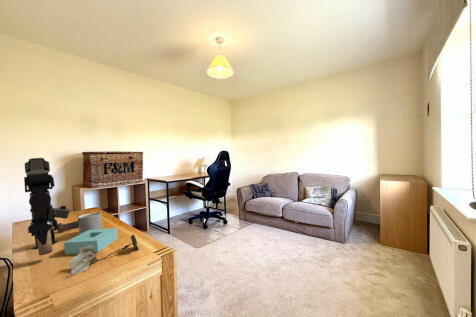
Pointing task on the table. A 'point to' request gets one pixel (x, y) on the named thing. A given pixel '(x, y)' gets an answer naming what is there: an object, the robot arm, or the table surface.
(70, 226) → the bolt
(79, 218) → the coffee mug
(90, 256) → the artificial flower
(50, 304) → the table surface
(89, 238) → the socket block
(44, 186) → the robot arm
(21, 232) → the table surface
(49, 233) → the walnut dowel
